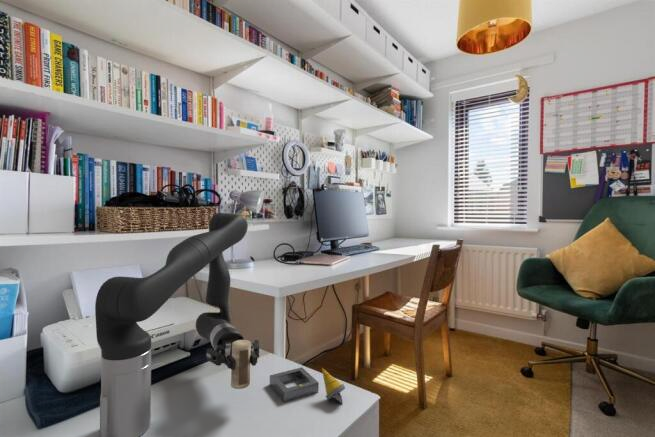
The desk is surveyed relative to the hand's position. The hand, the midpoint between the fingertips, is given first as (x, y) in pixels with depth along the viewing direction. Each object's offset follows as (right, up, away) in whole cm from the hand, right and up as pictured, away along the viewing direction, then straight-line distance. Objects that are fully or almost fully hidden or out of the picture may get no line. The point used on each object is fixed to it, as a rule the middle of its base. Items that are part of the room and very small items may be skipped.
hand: (244, 363), depth 78 cm
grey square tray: (+10, -12, +12) cm, 20 cm away
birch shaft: (-2, -6, +2) cm, 7 cm away
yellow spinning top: (+21, -13, +7) cm, 25 cm away
